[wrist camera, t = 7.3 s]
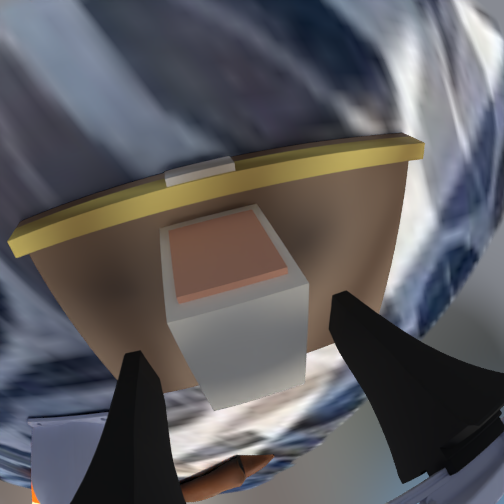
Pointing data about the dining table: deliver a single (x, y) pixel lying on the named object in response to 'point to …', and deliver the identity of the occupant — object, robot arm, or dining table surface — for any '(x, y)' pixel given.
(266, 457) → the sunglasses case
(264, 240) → the carton
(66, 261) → the shelf board
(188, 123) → the dining table surface
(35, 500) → the orange juice
